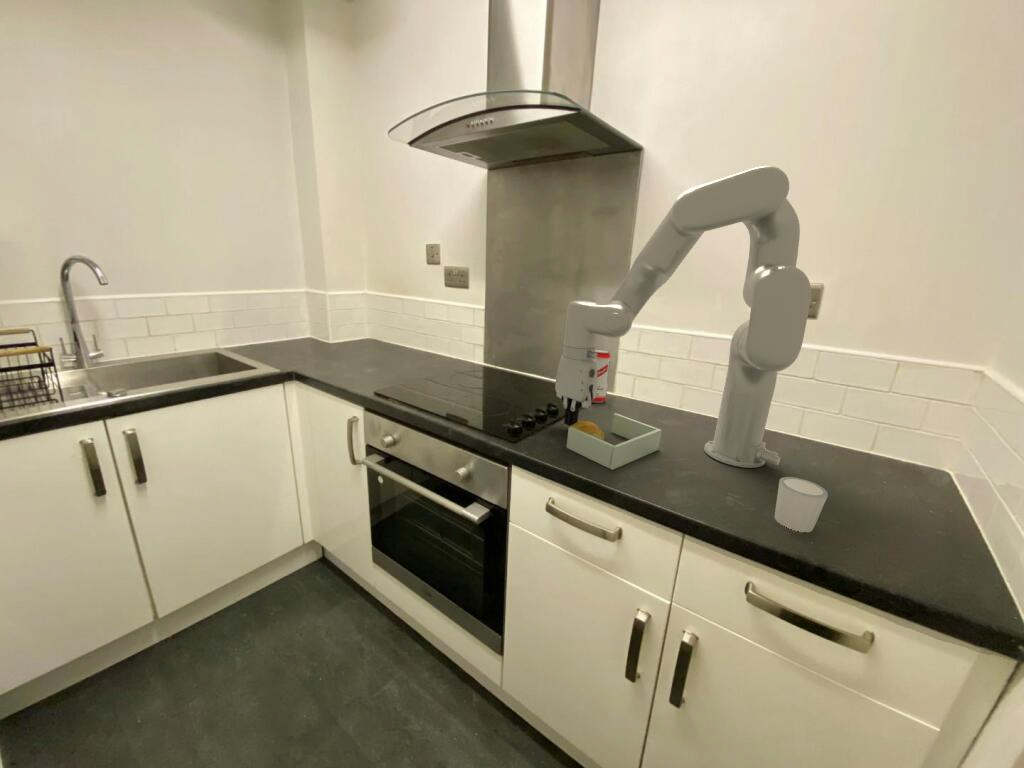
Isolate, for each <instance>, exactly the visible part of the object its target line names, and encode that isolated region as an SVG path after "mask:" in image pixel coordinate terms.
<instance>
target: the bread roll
mask: <svg viewBox="0 0 1024 768" xmlns="http://www.w3.org/2000/svg"><path fill="white" fill-rule="evenodd" d="M570 427H573V428H575V429H577V430H580V431H582V432H584V433H587V434H589V435H591V436H594V437H596V438H598V439H600V440H603V441H605V438H606V437H605V433H604V431H603V430H601V428H600V427H598V425H597V424H596V423H594V422H592V421H588V420H580V421H577V423H575V424H573V425H571V426H570Z"/></svg>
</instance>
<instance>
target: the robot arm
mask: <svg viewBox="0 0 1024 768" xmlns="http://www.w3.org/2000/svg"><path fill="white" fill-rule="evenodd" d="M789 190H790V181H789V178H788V176H787V174H786V173H785V172H784V170H782V169H781V168H780V167H779V168H778V167H776V166H771V165H764V166H763V165H762V166H758V167H754V168H751V169H748V170H745V171H742V172H739V173H736V174H732V175H729V176H726V177H723V178H720V179H717V180H714V181H713V180H712V181H711V182H707V183H704V184H701V185H698V186H695V187H694V186H693V187H692V188H689V189H687V190H685V191H684V192H682V193H681V194H680V195H678V196H677V198H676V199H675V200H674V203H673V205H672V206H671V208H670V209H669V210H668V212H667V214H666V215H665V216H664V217H663V219H662V220H661V222H660V224H659V225H658V226H657V228H656V229H655V231H654V232H653V234H652V235H651V236H650V237H649V239H648V241H647V242H646V243H645V245H644V246H643V247H642V249H641V251H640V252H639V253H638V255H637V256H636V258H635V260H634V261H633V263H632V265H631V268H630V270H629V272H628V274H627V275H626V276H625V278H624V279H623V281H622V283H621V284H620V286H619V287H618V288H617V290H616V291H615V293H614V295H613V296H612V297H611V298H610V300H609V301H608V303H607V304H598V303H596V302H594V301H588V300H572V301H570V302H569V303H568V305H567V310H566V318H565V330H564V336H563V337H564V339H563V348H562V349H563V350H562V355H561V357H560V360H559V363H558V367H557V371H556V375H555V377H556V378H555V385H554V386H555V387H554V390H555V392H556V394H555V395H556V397H557V398H559V399H560V400H561V401H562V403H563V409H565V410H564V421H563V424H565V425H567V426H570V427H571V426H572V425H573V424H575V423H577V422H579V421H578V419H579V413H580V411H581V409H582V408H586V409H587V408H591V407H592V402H591V400H594V399H595V397H596V390H597V364H596V361H594V358H596V357H597V353H595V349H596V344H597V335H599V336H603V337H607V338H612V339H613V338H614V339H617V338H618V339H619V338H621V337H624V336H626V334H628V333H629V331H631V328H632V325H633V321H634V320H635V319H636V317H637V316H638V314H639V313H640V312H641V310H642V309H643V308H644V307H645V305H646V304H647V303H648V301H649V300H650V299H651V297H652V296H653V295H654V294H655V293H656V292H657V291H658V290H659V289H660V288H661V287H662V286H663V285H665V284H666V283H667V282H668V280H669V279H670V278H671V277H672V276H673V275H674V273H675V272H676V270H677V269H678V268H679V266H680V265H681V263H683V261H684V259H685V258H686V257H687V256H688V254H689V253H690V251H691V250H692V249H693V248H694V246H695V245H696V244H697V242H698V241H699V239H700V238H701V237H702V235H703V234H704V233H705V232H708V231H712V230H717V229H720V228H724V227H728V226H732V225H735V224H739V223H743V225H744V226H745V227H746V229H747V230H748V233H749V251H748V252H749V253H748V258H747V259H748V260H747V266H746V272H745V273H746V274H745V277H744V283H743V288H742V297H743V301H744V302H745V304H746V306H747V307H748V308H750V314H749V318H748V319H749V320H746V321H745V322H743V323H741V324H740V325H739V326H738V327H737V328H736V329H735V331H734V333H733V334H732V336H731V341H730V348H729V356H728V366H727V372H726V378H725V382H724V388H723V392H722V397H721V402H720V408H719V411H718V416H717V421H716V427H715V432H714V436H713V440H709V441H707V442H706V443H705V444H704V448H703V449H704V451H705V453H706V454H707V455H708V456H709V457H710V458H712V459H714V460H716V461H718V462H721V463H724V464H727V465H730V466H734V467H738V468H746V469H748V468H749V469H753V468H761V467H763V466H764V465H765V464H766V462H767V463H769V464H772V465H775V466H778V465H779V464H780V461H781V456H779V453H778V452H776V451H773V450H768V449H767V448H766V445H767V442H765V441H763V437H764V434H765V429H766V426H767V421H768V417H769V413H770V408H771V404H772V401H773V400H772V399H773V397H774V393H775V388H776V384H777V377H778V372H779V373H780V372H782V371H785V369H788V368H789V367H790V366H792V364H794V363H795V362H796V361H797V359H798V357H799V355H800V353H801V350H802V347H803V342H804V338H805V332H806V326H807V322H808V321H807V320H808V316H809V311H810V306H811V299H812V288H811V286H812V285H811V282H810V280H809V278H808V276H807V275H806V273H805V272H804V271H802V270H801V269H800V268H798V267H797V264H798V263H797V260H798V255H799V246H800V238H801V237H800V236H801V233H800V232H801V230H800V229H801V226H800V220H799V217H798V214H797V212H796V211H795V208H794V207H793V205H792V204H791V202H790V201H789V199H787V197H788V194H789V192H790V191H789Z"/></svg>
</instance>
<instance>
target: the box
mask: <svg viewBox="0 0 1024 768" xmlns="http://www.w3.org/2000/svg"><path fill="white" fill-rule="evenodd" d="M567 431H568V432H567V439H566V448H567V449H568V450H570V451H573V452H575V453H577V454H579V455H581V456H583V457H584V458H587V459H589V460H591V461H594V462H595V463H598V464H599V465H602V466H603V467H606V468H607V469H610V470H612V471H613V470H616V469H617V468H620V467H622V466H624V465H627V464H629V463H632V462H633V461H636V460H639V459H640V458H643V457H645V456H647V455H650V454H652V453H654V452H656V451H658V450H659V449H660V443H661V437H662V429H660V428H658V427H655V426H652V425H649V424H646V423H644V422H641V421H638V420H635V419H632V418H630V417H629V416H628V417H627V416H624V415H622V414H619V413H616V412H615V413H613V420H612V427H611V433H612V434H615V435H617V436H619V437H623V438H624V439H628V440H625V441H623V442H620V443H618V444H615V445H614V444H612V443H610V442H607V441H606V440H600V439H598V438H596V437H594V436H591V435H589V434H587V433H584V432H582V431H580V430H577V429H575V428H573V427H571V426H570V427H568V430H567Z"/></svg>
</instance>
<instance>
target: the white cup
mask: <svg viewBox="0 0 1024 768" xmlns="http://www.w3.org/2000/svg"><path fill="white" fill-rule="evenodd" d="M828 496H829V494H828V491H827V490H826V489H825V488H824V487H822V486H821V485H819V484H817V483H816V482H813V481H810V480H807V479H803V478H800V477H793V476H785V477H781V478H780V479H779V481H778V489H777V496H776V503H775V510H774V520H775V521H776V522H777V524H779V523H780V524H779V525H781V526H782V525H783V526H782V527H784V526H785V527H784V528H786V527H787V528H786V529H788V528H789V529H788V530H790V529H792V530H791V531H794V530H795V531H794V532H797V531H799V532H798V533H803V532H807V533H811V532H812V531H813V530H814V528H815V526H816V524H817V522H818V519H819V517H820V515H821V513H822V510H823V508H824V505H825V503H826V501H827V498H828Z"/></svg>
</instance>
